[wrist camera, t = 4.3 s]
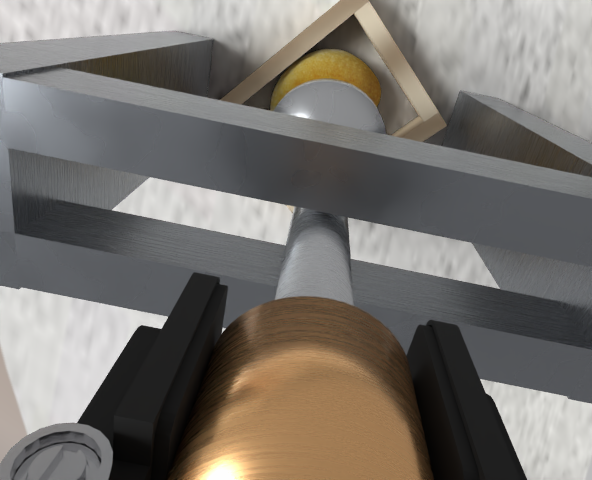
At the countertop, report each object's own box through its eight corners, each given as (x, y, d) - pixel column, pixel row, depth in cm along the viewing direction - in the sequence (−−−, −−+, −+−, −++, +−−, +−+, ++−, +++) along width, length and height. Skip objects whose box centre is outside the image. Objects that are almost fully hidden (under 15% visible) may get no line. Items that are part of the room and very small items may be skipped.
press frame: (467, 184, 39) (653, 415, 16) (167, 123, 38) (-70, 271, 16) (498, 98, 36) (780, 234, 13) (173, 30, 35) (-107, 50, 13)
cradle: (440, 119, 37) (447, 125, 34) (302, 212, 41) (300, 223, 39) (357, -13, 33) (359, -15, 31) (216, 103, 38) (208, 108, 35)
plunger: (367, 204, 30) (472, 774, 7) (259, 182, 30) (27, 691, 7) (398, 92, 27) (735, 469, 4) (278, 67, 27) (-17, 321, 4)
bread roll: (384, 51, 35) (390, 55, 32) (368, 167, 39) (372, 182, 35) (274, 43, 36) (268, 45, 32) (269, 159, 39) (263, 173, 36)
